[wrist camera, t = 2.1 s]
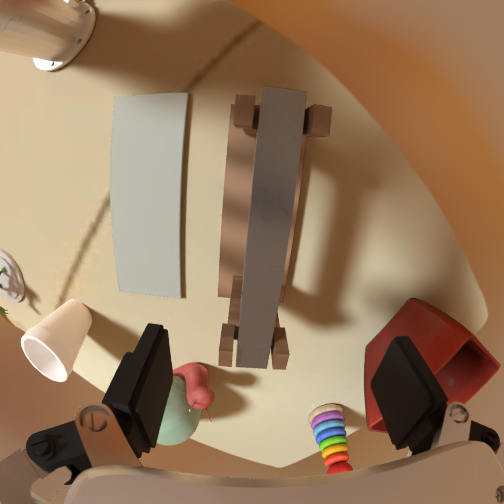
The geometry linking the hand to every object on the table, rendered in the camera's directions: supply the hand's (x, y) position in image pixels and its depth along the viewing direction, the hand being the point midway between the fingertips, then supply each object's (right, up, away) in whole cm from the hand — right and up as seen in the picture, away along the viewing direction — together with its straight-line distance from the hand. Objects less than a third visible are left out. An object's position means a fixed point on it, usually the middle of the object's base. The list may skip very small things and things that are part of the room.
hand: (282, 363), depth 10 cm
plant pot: (+27, -11, +33) cm, 44 cm away
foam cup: (-33, -7, +31) cm, 45 cm away
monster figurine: (-52, 0, +28) cm, 59 cm away
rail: (0, +5, +13) cm, 14 cm away
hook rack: (0, +10, +24) cm, 26 cm away
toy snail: (-17, -21, +37) cm, 45 cm away
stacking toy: (+15, -31, +41) cm, 54 cm away
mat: (-15, +11, +23) cm, 30 cm away
